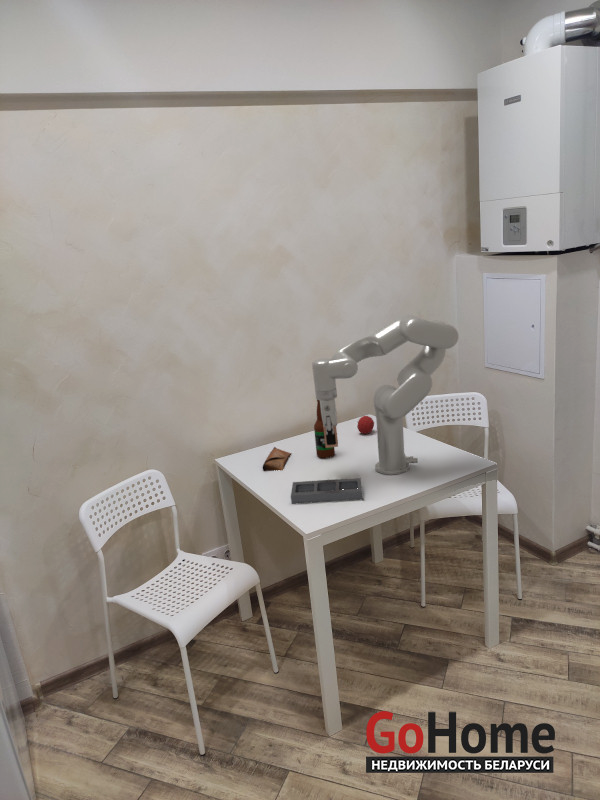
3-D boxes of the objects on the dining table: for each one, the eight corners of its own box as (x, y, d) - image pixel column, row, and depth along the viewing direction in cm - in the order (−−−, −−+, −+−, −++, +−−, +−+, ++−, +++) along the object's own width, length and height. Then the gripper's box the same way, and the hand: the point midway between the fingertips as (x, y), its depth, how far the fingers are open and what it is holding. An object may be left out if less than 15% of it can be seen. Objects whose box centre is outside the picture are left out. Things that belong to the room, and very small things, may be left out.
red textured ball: (374, 414, 261) (358, 410, 265) (366, 429, 258) (350, 424, 262) (378, 424, 268) (362, 419, 271) (370, 439, 265) (355, 434, 268)
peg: (337, 442, 222) (335, 421, 220) (337, 446, 218) (335, 425, 216) (325, 443, 223) (323, 422, 221) (325, 447, 219) (323, 426, 216)
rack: (361, 485, 215) (360, 477, 214) (362, 499, 205) (362, 491, 204) (293, 489, 217) (292, 482, 216) (291, 503, 207) (290, 495, 206)
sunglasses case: (284, 470, 234) (274, 456, 233) (269, 479, 237) (259, 465, 236) (292, 453, 251) (283, 440, 250) (279, 461, 253) (269, 448, 253)
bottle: (314, 458, 243) (309, 398, 236) (319, 451, 250) (313, 393, 243) (332, 459, 241) (327, 398, 234) (336, 452, 248) (331, 393, 241)
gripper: (336, 399, 207) (342, 449, 212) (336, 385, 223) (341, 432, 228) (314, 401, 207) (320, 451, 212) (316, 387, 223) (321, 434, 229)
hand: (331, 441), depth 220 cm, fingers closed on peg, 4 cm apart
